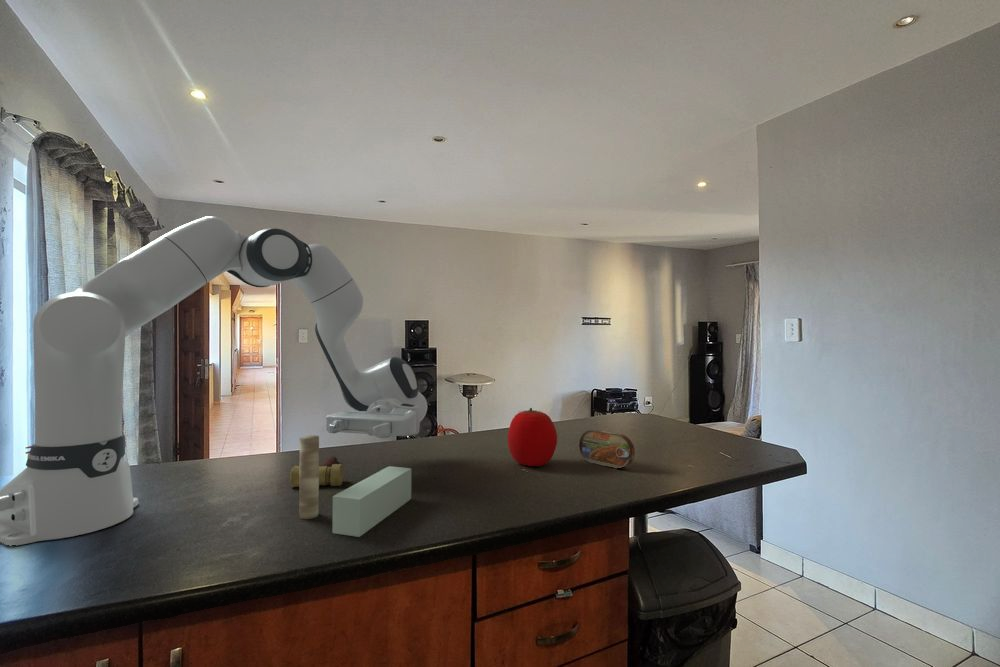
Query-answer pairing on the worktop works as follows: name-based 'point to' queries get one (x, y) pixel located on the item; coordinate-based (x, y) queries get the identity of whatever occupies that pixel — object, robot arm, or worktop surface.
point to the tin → (607, 447)
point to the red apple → (532, 438)
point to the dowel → (309, 477)
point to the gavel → (322, 473)
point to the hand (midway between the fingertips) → (350, 430)
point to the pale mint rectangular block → (370, 501)
